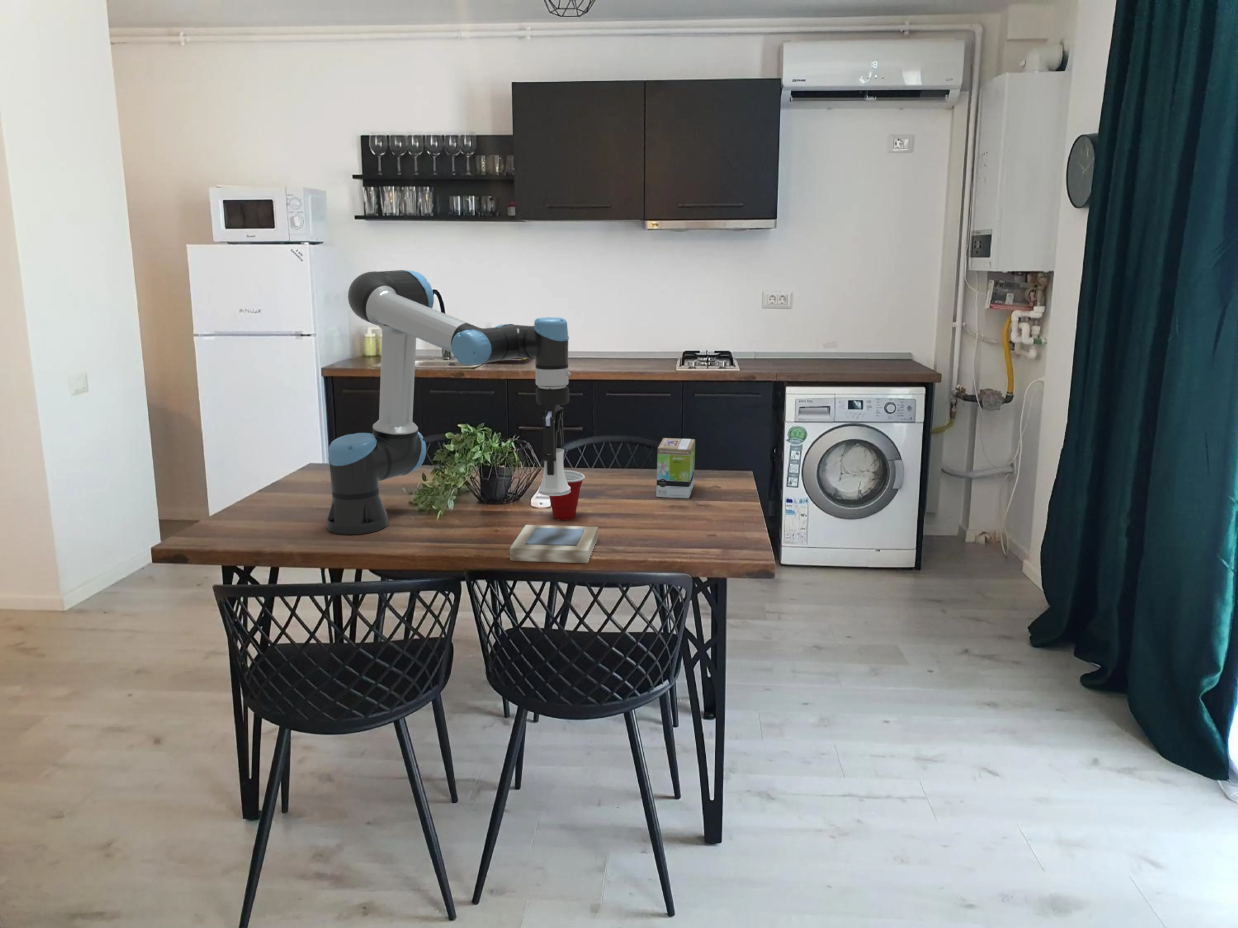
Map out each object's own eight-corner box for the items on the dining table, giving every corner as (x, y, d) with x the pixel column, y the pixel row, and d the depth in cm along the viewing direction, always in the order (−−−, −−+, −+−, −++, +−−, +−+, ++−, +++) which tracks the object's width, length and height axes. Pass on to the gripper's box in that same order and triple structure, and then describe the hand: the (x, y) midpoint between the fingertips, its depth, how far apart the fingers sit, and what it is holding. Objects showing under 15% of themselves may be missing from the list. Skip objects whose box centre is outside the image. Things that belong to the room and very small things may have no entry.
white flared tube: (577, 491, 213) (576, 450, 211) (554, 498, 208) (553, 455, 205) (554, 486, 218) (554, 445, 216) (531, 492, 213) (530, 450, 210)
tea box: (690, 499, 259) (691, 448, 255) (655, 497, 260) (655, 447, 257) (694, 485, 273) (695, 437, 270) (661, 484, 275) (661, 436, 271)
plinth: (510, 560, 208) (509, 546, 208) (526, 536, 226) (525, 523, 225) (587, 563, 207) (587, 549, 206) (598, 538, 224) (597, 525, 223)
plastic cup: (580, 524, 235) (579, 479, 233) (539, 522, 237) (538, 477, 235) (589, 512, 246) (589, 469, 243) (551, 510, 248) (550, 467, 245)
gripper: (561, 393, 197) (563, 495, 203) (575, 380, 216) (576, 474, 221) (527, 392, 198) (530, 494, 203) (544, 379, 217) (546, 473, 222)
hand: (554, 483), depth 212 cm, fingers closed on white flared tube, 7 cm apart
